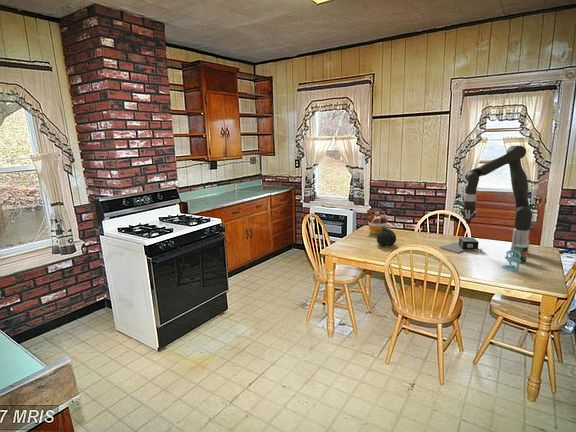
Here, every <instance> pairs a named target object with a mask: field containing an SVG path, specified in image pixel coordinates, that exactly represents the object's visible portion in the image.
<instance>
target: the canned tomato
mask: <svg viewBox="0 0 576 432" xmlns="http://www.w3.org/2000/svg"><path fill="white" fill-rule="evenodd" d="M513 250H514V251H518V252H520V254H521V257H520V256H519V254H518V253H517V254H516V257H517V258H518V259H519V257H520V260H522V261H521V262H520V264H526V263H527V259H528V258H527V257H528V253H527V251H528V252H529V247H528V246H527V245H525V244H514V248H513ZM512 255H513V256H512V257H514V255H515V253H512ZM515 263H516V264H517V263H518V262H515Z"/></svg>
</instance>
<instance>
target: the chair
mask: <svg viewBox="0 0 576 432" xmlns="http://www.w3.org/2000/svg"><path fill="white" fill-rule="evenodd" d="M505 253H506V256H504V259H505V260H506V261H507V262H508V264H509V265H501V266H502V268H503V269H506V270H508V271H510V272H512V273H514V272H517V273H519V270H520V269H519V268H520V265H521V263H520V262H521V261H522V260H520V257H521V254H520V252H518V251H514V250H511V249H510V250H507V251H506V252H505ZM513 253H515V255H514V257H512V256H513ZM517 253H518V254H519V256H520V257H519V259H518V258H517V257H516V254H517ZM516 262H518V263H516ZM512 263H516V265H513V264H512Z"/></svg>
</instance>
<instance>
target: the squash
mask: <svg viewBox="0 0 576 432" xmlns="http://www.w3.org/2000/svg"><path fill="white" fill-rule="evenodd" d="M376 242H377V244H378V245H379V246H382V247H388V248H389V247H390V246H393V245H394V244H395V243H396V242H397V236H396V233H395V232H394V231H393V230H392V229H390V228H388V227H386V228H384V227H383V228H382V229H381V230H380V231H379V233H378V234H377V235H376Z"/></svg>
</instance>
